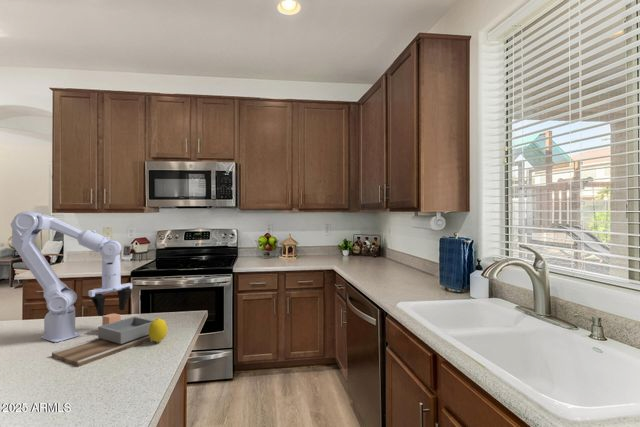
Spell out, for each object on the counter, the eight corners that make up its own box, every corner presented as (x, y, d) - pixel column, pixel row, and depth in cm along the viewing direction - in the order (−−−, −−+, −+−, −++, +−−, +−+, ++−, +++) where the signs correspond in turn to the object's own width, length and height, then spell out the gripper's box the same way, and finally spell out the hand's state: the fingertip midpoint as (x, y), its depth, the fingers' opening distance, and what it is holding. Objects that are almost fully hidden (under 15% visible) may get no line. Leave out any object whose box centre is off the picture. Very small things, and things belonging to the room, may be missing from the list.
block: (102, 332, 123) (102, 316, 123) (113, 329, 126) (113, 313, 126) (109, 334, 121) (109, 317, 121) (120, 331, 124) (120, 314, 124)
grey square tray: (98, 339, 113) (98, 326, 113) (135, 328, 125) (135, 316, 125) (120, 346, 108) (120, 332, 108) (157, 333, 119) (157, 321, 119)
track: (51, 356, 102) (51, 343, 102) (137, 329, 126) (137, 318, 126) (78, 366, 96) (78, 352, 96) (163, 335, 120) (163, 324, 120)
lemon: (160, 346, 110) (160, 321, 110) (144, 345, 111) (144, 320, 111) (170, 340, 116) (170, 316, 116) (156, 338, 117) (156, 315, 117)
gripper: (96, 279, 115) (97, 319, 115) (137, 272, 128) (137, 308, 128) (84, 277, 119) (85, 316, 119) (125, 270, 131) (125, 306, 131)
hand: (111, 312), depth 124 cm, fingers open, 7 cm apart
